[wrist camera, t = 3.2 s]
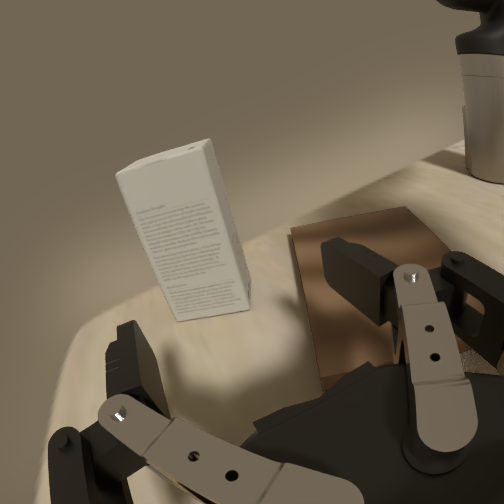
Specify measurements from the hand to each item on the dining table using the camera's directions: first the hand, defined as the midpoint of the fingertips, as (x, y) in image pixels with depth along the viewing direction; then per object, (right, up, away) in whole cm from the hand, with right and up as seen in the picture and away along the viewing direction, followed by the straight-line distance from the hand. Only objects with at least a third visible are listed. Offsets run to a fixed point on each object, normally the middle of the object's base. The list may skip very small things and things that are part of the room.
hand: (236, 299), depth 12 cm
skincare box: (-2, -2, +13) cm, 13 cm away
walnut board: (+10, 0, +10) cm, 14 cm away
